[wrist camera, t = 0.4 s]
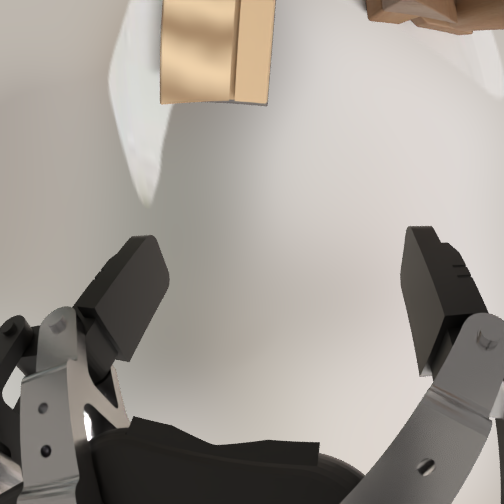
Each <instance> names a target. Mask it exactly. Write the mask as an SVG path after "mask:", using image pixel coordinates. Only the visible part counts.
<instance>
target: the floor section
mask: <svg viewBox="0 0 504 504" xmlns="http://www.w3.org/2000/svg"><path fill="white" fill-rule="evenodd" d="M275 5H276V0H235V11H234V26H233V41H232V57H231V74H230V93H229V101H206V102H216V103H233V104H247V105H258V106H267V104H268V92H269V79H270V67H271V54H272V43H273V30H274V18H275Z"/></svg>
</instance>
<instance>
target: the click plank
mask: <svg viewBox="0 0 504 504" xmlns="http://www.w3.org/2000/svg"><path fill="white" fill-rule="evenodd" d="M234 11H235V0H163V5H162V22H161V47H160V103H161V105H162V104H174V103H185V102H206V101H229V93H230V74H231V57H232V41H233V26H234Z"/></svg>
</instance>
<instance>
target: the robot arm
mask: <svg viewBox="0 0 504 504" xmlns="http://www.w3.org/2000/svg"><path fill="white" fill-rule="evenodd" d="M400 276H401V277H400V278H401V288H402V293H403V297H404V301H405V305H406V309H407V313H408V318H409V323H410V327H411V332H412V337H413V341H414V347H415V352H416V358H417V363H418V369H419V375H420V377H424V376H432V377H433V383H432V385H431V387H430V388H429V389H428V390H427V392H426V394H425V395H424V397H423V399H422V400H421V402H420V403H419V405H418V406H417V408H416V409H415V411H414V412H413V414H412V415H411V417H410V418H409V420H408V421H407V423H406V424H405V426H404V427H403V428H402V430H401V431H400V432H399V434H398V435H397V437H396V438H395V439H394V441H393V442H392V443H391V445H390V446H389V447H388V449H387V450H386V451H385V452H384V454H383V455H382V456H381V458H380V459H379V460H378V461H377V462H376V464H375V465H374V466H373V467H372V468H371V470H370V471H369V472H368V473H367V474H366V476H365V475H364V474H363V473H361V472H360V471H359V470H357V469H356V468H354V467H353V466H351V465H349V464H347V463H345V462H344V461H342V460H339V459H337V458H334V457H332V456H328V455H325V454H321V453H319V445H320V443H319V442H292V441H276V440H263V441H256V442H247V443H238V444H228V445H213V444H210V443H207V442H205V441H203V440H201V439H199V438H196V437H194V436H192V435H190V434H188V433H186V432H184V431H182V430H180V429H178V428H176V427H174V426H172V425H167V424H163V423H159V422H154V421H150V420H146V419H142V418H138V417H135V416H133V419H132V421H131V422H130V421H129V419H128V417H127V414H126V411H125V407H124V403H123V399H122V395H121V390H120V386H119V381H118V376H117V372H116V369H115V367H114V366H113V365H112V364H113V362H114V360H115V359H116V360H122V361H127V362H130V360H131V358H132V356H133V354H134V352H135V349H136V348H137V346H138V344H139V342H140V340H141V338H142V336H143V334H144V332H145V330H146V328H147V327H148V325H149V323H150V321H151V319H152V317H153V315H154V313H155V312H156V310H157V308H158V306H159V304H160V302H161V300H162V299H163V297H164V295H165V293H166V291H167V289H168V287H169V272H168V269H167V267H166V264H165V262H164V258H163V256H162V253H161V250H160V248H159V245H158V242H157V240H156V238H155V237H154V236H152V235H146V236H132V237H131V238H130V239H129V240H128V241H127V242H126V243H125V245H124V246H123V247H122V248H121V250H120V251H119V252H118V253H117V254H116V255H115V256H113V257H112V258H111V259H109V260H108V262H107V263H106V264H105V265H104V267H103V268H102V269H101V272H99V273H98V274H97V275H96V277H95V280H93V281H92V282H91V283H90V284H89V286H88V287H87V288H86V290H85V291H84V292H83V294H82V295H81V296H80V298H79V299H78V300H77V302H76V303H75V304H74V306H73V307H68V306H67V307H61V308H58V309H56V310H54V311H53V312H51V313H50V314H49V315H48V316H47V317H46V318H45V319H44V320H43V322H42V323H41V325H40V326H34V327H30V326H29V324H28V323H27V321H26V320H25V318H24V317H23V316H20V315H17V316H14V317H11V318H10V319H9V320H7V321H6V322H5V323H4V324H3V325H2V326H1V327H0V504H451V503H452V501H453V500H454V498H455V497H456V495H457V494H458V492H459V490H460V489H461V487H462V485H463V484H464V482H465V480H466V478H467V477H468V475H469V473H470V471H471V469H472V467H473V466H474V464H475V462H476V460H477V458H478V456H479V454H480V452H481V450H482V448H483V446H484V444H485V442H486V440H487V438H488V435H489V433H490V430H491V427H492V421H491V420H489V417H493V418H495V420H496V427H497V435H498V445H499V457H500V471H501V472H500V473H501V504H504V321H503V320H502V319H501V318H498V317H497V316H495V315H493V314H489V313H488V311H487V308H486V306H485V304H484V301H483V299H482V297H481V295H480V293H479V291H478V288H477V286H476V284H475V282H474V280H473V278H472V277H471V274H470V272H469V270H468V268H467V267H466V265H465V262H464V261H463V259H462V257H461V255H460V253H459V252H458V251H457V250H456V249H455V248H453V247H452V246H451V245H450V244H449V243H441V242H440V240H439V238H438V236H437V234H436V232H435V230H434V229H433V227H432V226H409V227H408V228H407V230H406V236H405V244H404V252H403V258H402V265H401V274H400ZM16 366H17V367H18V368H19V369H20V370H21V371H22V372H23V373H24V375H25V377H24V378H23V379H22V382H21V396H20V397H19V399H18V401H17V403H16V405H15V407H14V409H11V408H10V407H9V406H8V405H7V404H6V403H5V402H4V400H3V397H2V390H3V388H4V386H5V384H6V382H7V380H8V379H9V377H10V375H11V373H12V372H13V370H14V368H15V367H16Z"/></svg>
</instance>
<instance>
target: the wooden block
mask: <svg viewBox="0 0 504 504" xmlns="http://www.w3.org/2000/svg"><path fill="white" fill-rule="evenodd" d="M366 6H367V15H368V19H369V20H370V21H375V22H385V23H394V24H400V23H403V22H405V21H408V20H411V21H412V22H413V23H414V24H415V25H416V26H418V27H422V28H428V29H433V30H438V31H443V32H448V33H452V34H456V35H466V34H472V33H473V31H477V30H497V29H504V0H366Z"/></svg>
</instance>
